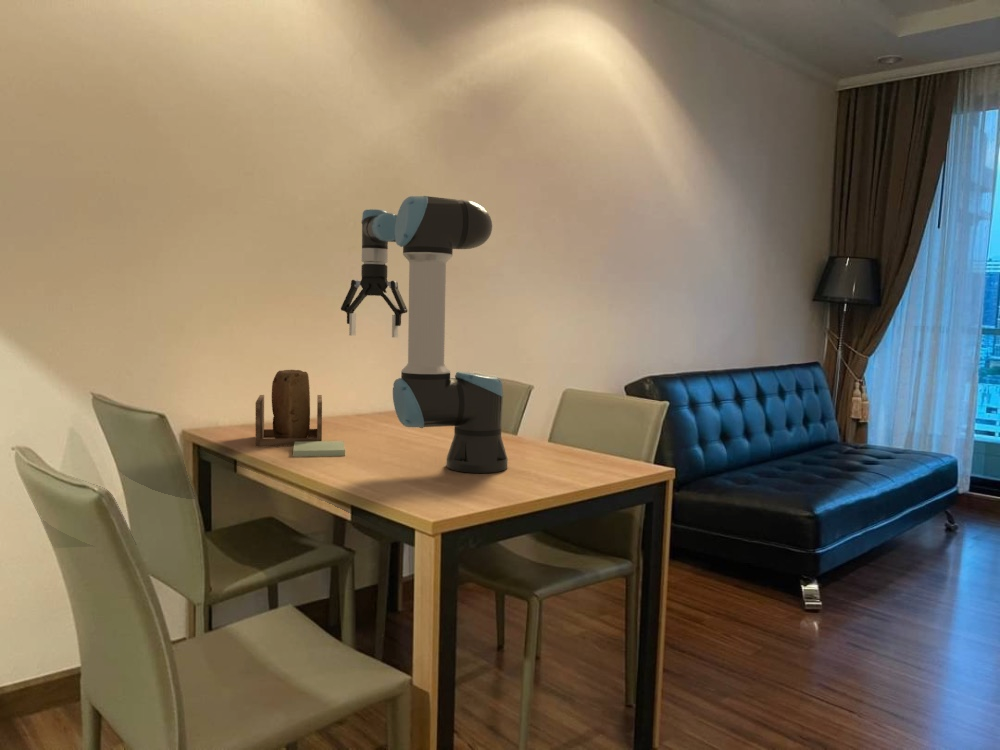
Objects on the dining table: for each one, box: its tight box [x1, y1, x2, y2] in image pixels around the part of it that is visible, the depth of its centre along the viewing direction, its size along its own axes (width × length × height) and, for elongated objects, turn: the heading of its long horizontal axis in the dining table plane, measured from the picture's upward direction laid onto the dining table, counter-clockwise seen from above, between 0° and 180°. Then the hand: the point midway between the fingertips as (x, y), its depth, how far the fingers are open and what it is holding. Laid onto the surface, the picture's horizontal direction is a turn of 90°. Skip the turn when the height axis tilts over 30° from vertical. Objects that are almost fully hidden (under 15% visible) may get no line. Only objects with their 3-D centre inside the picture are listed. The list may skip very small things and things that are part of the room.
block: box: [271, 369, 311, 438], centre depth 219 cm, size 11×8×20 cm
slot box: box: [255, 394, 323, 448], centre depth 219 cm, size 16×17×12 cm
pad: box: [292, 440, 346, 458], centre depth 206 cm, size 13×13×2 cm
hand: (373, 336), depth 229 cm, fingers open, 13 cm apart
